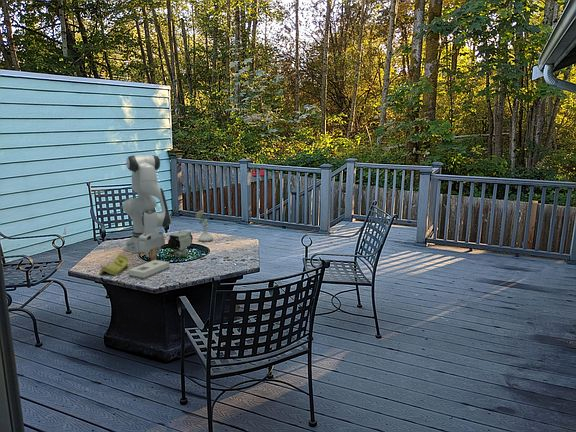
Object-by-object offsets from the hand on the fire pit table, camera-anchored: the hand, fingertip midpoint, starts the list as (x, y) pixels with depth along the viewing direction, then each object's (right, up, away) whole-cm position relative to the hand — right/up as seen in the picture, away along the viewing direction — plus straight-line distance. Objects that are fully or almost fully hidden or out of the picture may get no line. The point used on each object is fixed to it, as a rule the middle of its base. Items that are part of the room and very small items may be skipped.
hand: (153, 254), depth 284 cm
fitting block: (+4, -9, -18) cm, 21 cm away
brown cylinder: (0, -5, +1) cm, 5 cm away
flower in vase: (+24, +6, +54) cm, 59 cm away
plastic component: (-19, -9, -14) cm, 25 cm away
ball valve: (+16, -2, +14) cm, 21 cm away
